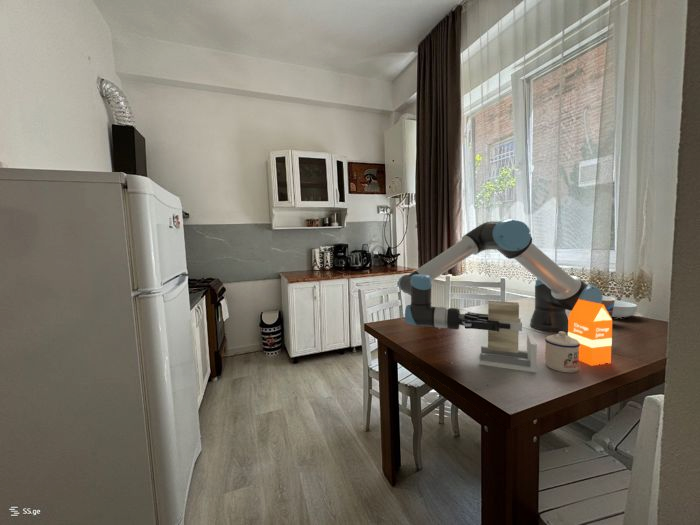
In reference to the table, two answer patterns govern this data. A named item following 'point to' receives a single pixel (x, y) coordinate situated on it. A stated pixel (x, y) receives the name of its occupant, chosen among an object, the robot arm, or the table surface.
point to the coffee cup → (608, 304)
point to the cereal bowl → (623, 309)
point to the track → (512, 357)
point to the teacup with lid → (562, 352)
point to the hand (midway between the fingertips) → (521, 324)
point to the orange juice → (591, 332)
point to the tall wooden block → (503, 338)
